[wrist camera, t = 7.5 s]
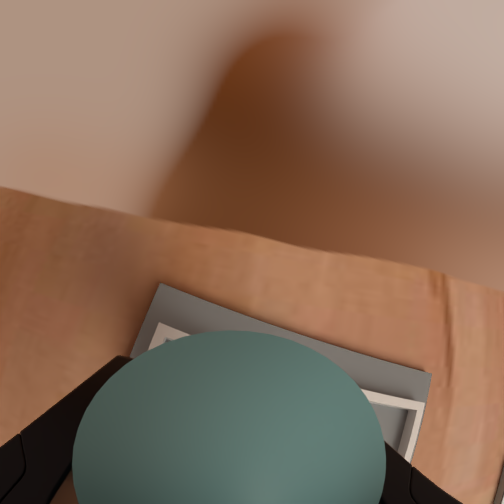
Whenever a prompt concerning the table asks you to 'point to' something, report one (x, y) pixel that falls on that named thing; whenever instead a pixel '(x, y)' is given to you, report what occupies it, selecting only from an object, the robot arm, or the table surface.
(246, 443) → the pin
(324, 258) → the table surface
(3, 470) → the robot arm
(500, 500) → the hard drive
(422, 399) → the pin board
